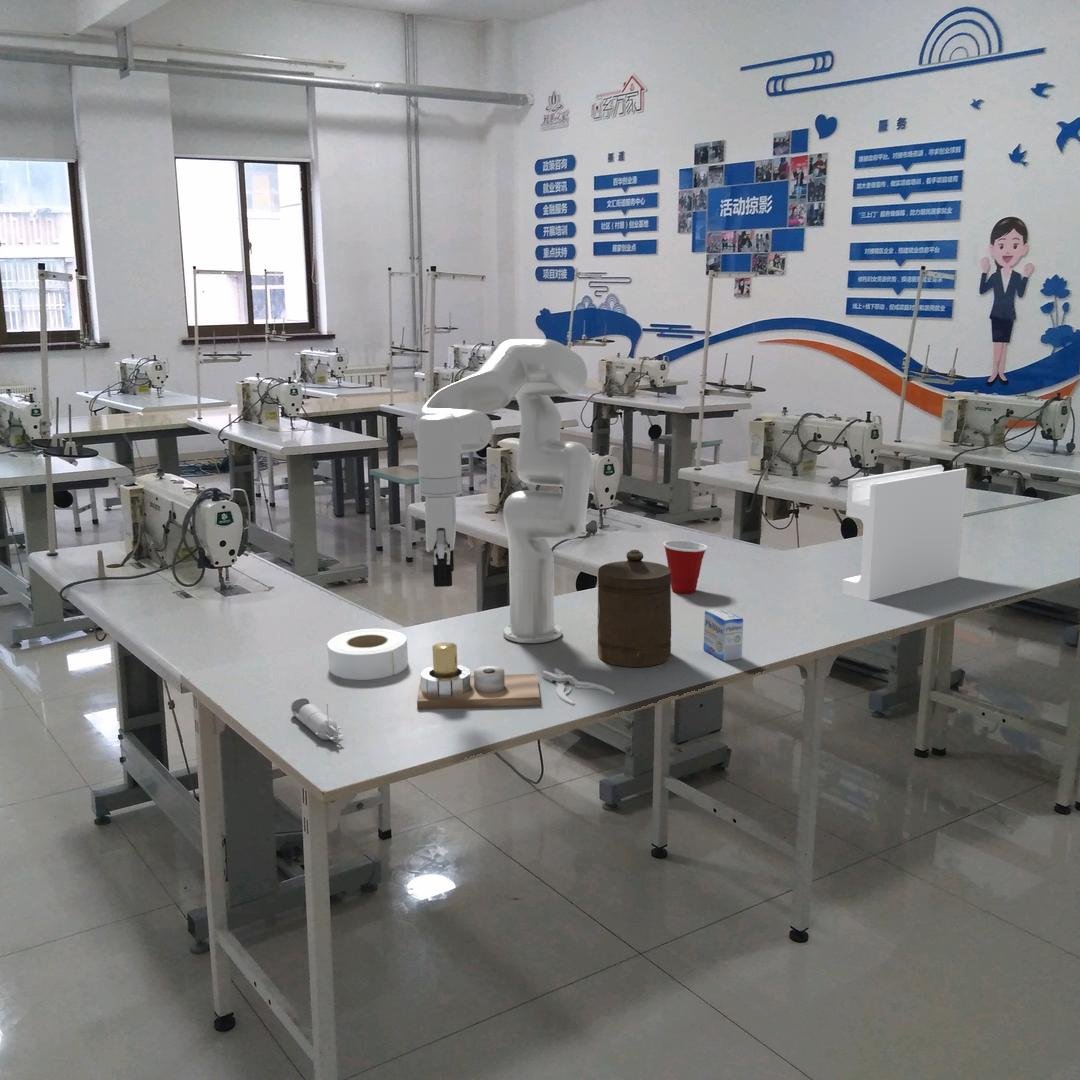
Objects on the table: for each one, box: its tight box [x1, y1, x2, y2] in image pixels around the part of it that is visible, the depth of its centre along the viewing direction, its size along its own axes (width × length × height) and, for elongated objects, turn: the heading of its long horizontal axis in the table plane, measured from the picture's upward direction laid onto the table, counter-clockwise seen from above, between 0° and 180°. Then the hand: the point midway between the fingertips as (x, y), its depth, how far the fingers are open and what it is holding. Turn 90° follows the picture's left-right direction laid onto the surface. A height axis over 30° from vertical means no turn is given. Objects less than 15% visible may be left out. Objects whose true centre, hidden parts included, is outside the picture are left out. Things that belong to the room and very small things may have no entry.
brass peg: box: [432, 641, 458, 679], centre depth 196 cm, size 4×4×8 cm
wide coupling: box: [420, 664, 471, 697], centre depth 196 cm, size 9×9×3 cm
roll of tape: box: [326, 628, 409, 681], centre depth 212 cm, size 16×16×6 cm
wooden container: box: [596, 549, 672, 668], centre depth 215 cm, size 15×15×22 cm
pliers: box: [541, 668, 616, 706], centre depth 200 cm, size 10×2×15 cm
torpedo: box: [290, 697, 344, 746], centre depth 182 cm, size 18×5×7 cm, turn 34°
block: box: [841, 464, 968, 602], centre depth 262 cm, size 35×8×28 cm, turn 125°
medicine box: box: [702, 608, 744, 662], centre depth 216 cm, size 8×4×9 cm, turn 23°
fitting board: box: [416, 665, 541, 710], centre depth 196 cm, size 12×22×5 cm, turn 93°
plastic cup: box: [663, 539, 709, 595], centre depth 261 cm, size 11×11×12 cm
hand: (444, 578), depth 192 cm, fingers open, 9 cm apart
